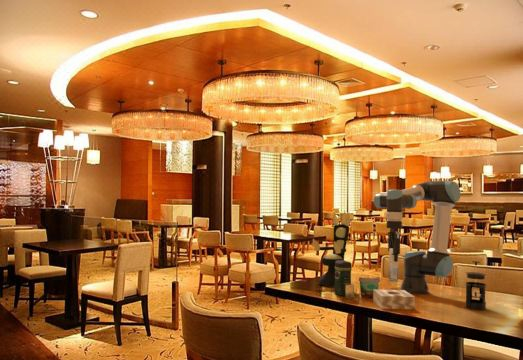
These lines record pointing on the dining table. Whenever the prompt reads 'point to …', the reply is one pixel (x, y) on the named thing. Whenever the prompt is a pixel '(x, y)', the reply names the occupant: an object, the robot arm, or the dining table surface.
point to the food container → (368, 286)
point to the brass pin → (349, 291)
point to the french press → (471, 302)
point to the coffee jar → (342, 276)
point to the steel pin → (392, 271)
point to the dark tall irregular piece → (334, 249)
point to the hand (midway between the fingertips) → (393, 267)
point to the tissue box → (393, 299)
